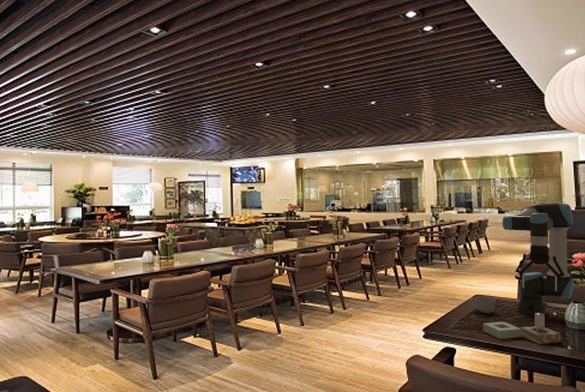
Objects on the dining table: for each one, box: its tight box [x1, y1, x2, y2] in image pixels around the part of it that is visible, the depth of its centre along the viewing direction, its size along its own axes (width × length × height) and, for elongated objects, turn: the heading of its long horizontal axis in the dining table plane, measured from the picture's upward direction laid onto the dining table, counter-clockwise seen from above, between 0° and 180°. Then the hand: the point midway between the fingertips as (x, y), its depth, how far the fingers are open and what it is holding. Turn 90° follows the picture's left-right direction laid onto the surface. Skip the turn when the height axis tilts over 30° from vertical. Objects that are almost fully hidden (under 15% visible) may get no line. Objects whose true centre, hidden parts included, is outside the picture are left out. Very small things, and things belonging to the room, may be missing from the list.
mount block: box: [519, 325, 562, 345], centre depth 202 cm, size 12×12×4 cm
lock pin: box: [534, 313, 546, 333], centre depth 202 cm, size 4×4×12 cm
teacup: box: [469, 296, 496, 314], centre depth 249 cm, size 14×11×8 cm
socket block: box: [482, 321, 522, 340], centre depth 208 cm, size 12×12×4 cm
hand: (539, 288), depth 202 cm, fingers open, 13 cm apart
